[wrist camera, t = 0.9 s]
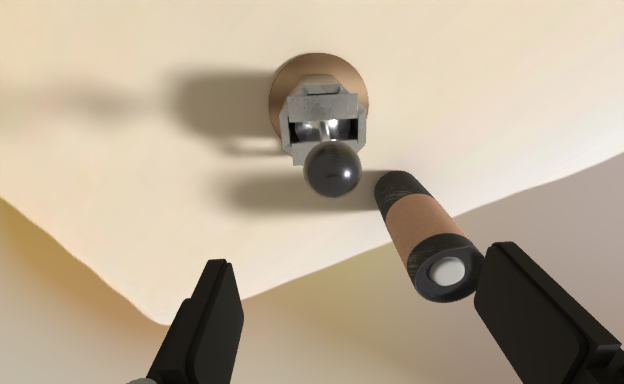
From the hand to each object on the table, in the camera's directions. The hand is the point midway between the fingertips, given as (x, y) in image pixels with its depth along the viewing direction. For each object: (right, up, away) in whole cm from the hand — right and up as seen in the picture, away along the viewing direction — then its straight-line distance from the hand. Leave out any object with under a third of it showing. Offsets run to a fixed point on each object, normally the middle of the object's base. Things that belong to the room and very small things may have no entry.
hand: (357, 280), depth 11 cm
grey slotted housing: (-1, +14, +30) cm, 33 cm away
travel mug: (+12, +4, +37) cm, 39 cm away
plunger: (-1, +11, +21) cm, 24 cm away
